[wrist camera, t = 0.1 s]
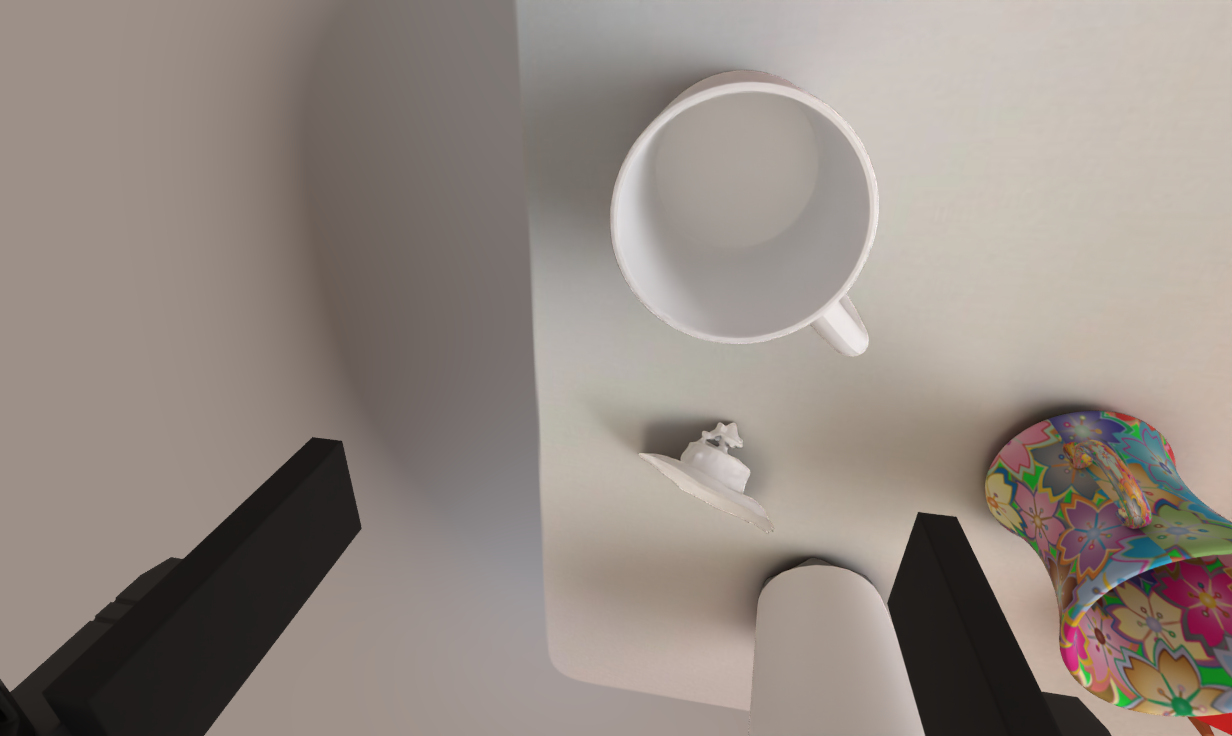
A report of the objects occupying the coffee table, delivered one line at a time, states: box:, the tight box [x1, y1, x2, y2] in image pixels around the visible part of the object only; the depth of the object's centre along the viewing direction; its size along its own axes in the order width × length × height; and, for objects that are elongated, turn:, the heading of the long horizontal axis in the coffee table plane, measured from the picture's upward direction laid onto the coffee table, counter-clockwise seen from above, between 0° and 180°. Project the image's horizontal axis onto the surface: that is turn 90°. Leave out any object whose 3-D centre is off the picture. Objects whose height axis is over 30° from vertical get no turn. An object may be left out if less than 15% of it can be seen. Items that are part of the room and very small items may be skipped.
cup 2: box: [749, 558, 925, 736], centre depth 34 cm, size 10×10×13 cm
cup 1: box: [610, 70, 879, 357], centre depth 24 cm, size 8×12×10 cm
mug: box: [985, 411, 1232, 717], centre depth 27 cm, size 12×9×11 cm
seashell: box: [638, 423, 774, 533], centre depth 33 cm, size 8×5×8 cm
